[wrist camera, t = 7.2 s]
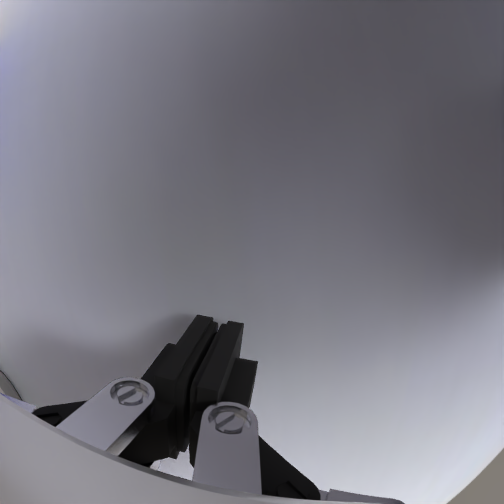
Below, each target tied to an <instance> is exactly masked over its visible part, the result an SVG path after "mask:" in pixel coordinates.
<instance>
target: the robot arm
mask: <svg viewBox="0 0 504 504" xmlns="http://www.w3.org/2000/svg"><path fill="white" fill-rule="evenodd" d="M243 327H244V323H238V322H233V321H228V322H227V324H221V326H220V328H219V330H218V323H217V322H213V318H212V317H207V316H202V315H197V316H196V317H195V319H194V320H193V322H192V323H191V324H190V326H189V327H188V329H187V330H186V331H185V333H184V334H183V336H182V337H181V339H180V340H179V341H178V343H177V344H176V345H175V344H171V343H168V344H167V345H166V346H165V348H164V349H163V350H162V351H161V353H160V354H159V355H158V357H157V358H156V359H155V361H154V362H153V363H152V365H151V366H150V367H149V369H148V370H147V371H146V373H145V374H144V375H143V377H142V378H141V379H138V378H132V377H125V378H119V379H116V380H114V381H112V382H110V383H109V384H108V385H107V386H105V387H104V388H103V389H102V390H100V391H99V392H98V393H97V394H96V395H94V396H93V397H92V398H91V399H89V400H88V401H81V402H75V403H68V404H60V405H52V406H45V407H41V408H39V409H37V407H36V405H33V404H30V403H27V402H24V401H21V400H18V399H15V398H13V397H10V396H7V395H5V394H2V393H0V504H405V503H403V502H402V501H400V500H396V499H391V498H382V497H375V496H368V495H361V494H355V493H349V492H344V491H339V490H334V489H330V490H329V492H327V491H322V490H318V488H317V487H316V486H315V485H314V483H313V482H311V481H310V480H309V479H308V478H307V477H305V476H304V475H303V474H302V473H300V472H299V471H298V470H297V469H296V468H294V467H293V466H292V465H291V464H290V463H289V462H287V461H286V460H285V459H284V458H283V457H282V456H281V455H279V454H278V453H277V452H276V451H275V450H274V449H273V448H272V447H270V446H269V445H268V444H267V443H266V442H265V441H264V440H263V439H262V438H261V437H260V436H259V435H258V421H257V417H256V415H255V414H254V413H253V411H252V410H250V409H249V407H250V402H251V397H252V392H253V387H254V382H255V376H256V370H257V364H258V361H252V360H246V359H241V358H239V356H240V349H241V342H242V334H243ZM217 330H218V332H217ZM188 445H189V453H190V464H191V465H192V466H193V468H194V472H193V479H192V481H191V480H187V479H184V478H180V477H176V476H173V475H170V474H166V473H163V472H160V471H157V469H158V467H159V465H160V460H161V459H164V458H167V457H170V458H174V459H177V456H178V454H179V452H180V451H182V452H185V451H186V449H187V447H188Z"/></svg>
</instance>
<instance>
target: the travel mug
mask: <svg viewBox="0 0 504 504" xmlns="http://www.w3.org/2000/svg"><path fill="white" fill-rule="evenodd" d="M0 393H2V394H5V395H7V396H10V397H13V398H15V399H18V400H21V398H20V396H19V395H18V393H17V391H16V390H15V388H14V387H13V385H12V384H11V383H10V381H9V380H8V379H7V378H6V376H5V375H4V374H3V373H2V372H1V371H0ZM21 401H22V400H21Z"/></svg>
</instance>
